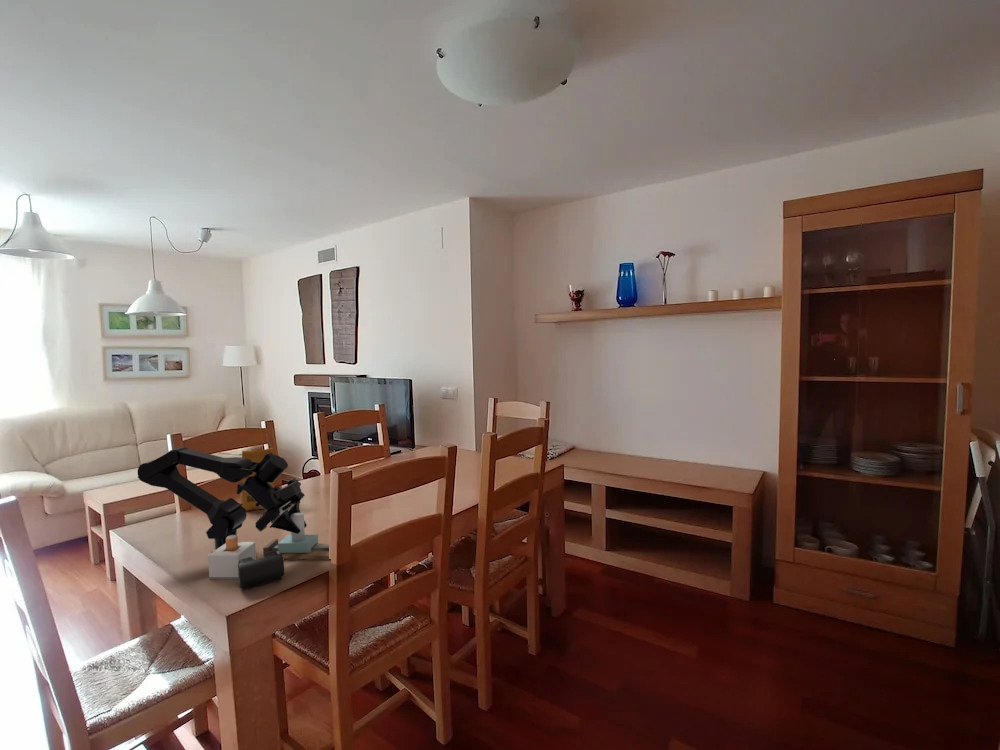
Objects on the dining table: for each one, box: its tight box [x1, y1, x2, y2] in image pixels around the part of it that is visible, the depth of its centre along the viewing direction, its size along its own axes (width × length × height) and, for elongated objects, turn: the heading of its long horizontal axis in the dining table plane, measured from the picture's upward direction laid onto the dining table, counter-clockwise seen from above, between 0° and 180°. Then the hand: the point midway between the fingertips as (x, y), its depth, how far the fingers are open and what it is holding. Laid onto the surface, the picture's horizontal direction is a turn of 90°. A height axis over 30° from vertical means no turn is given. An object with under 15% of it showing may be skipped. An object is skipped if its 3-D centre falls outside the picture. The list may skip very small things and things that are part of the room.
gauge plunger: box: [226, 534, 239, 551], centre depth 124 cm, size 3×3×4 cm
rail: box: [262, 538, 330, 561], centre depth 135 cm, size 21×8×3 cm, turn 88°
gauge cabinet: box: [207, 541, 257, 581], centre depth 124 cm, size 8×8×6 cm
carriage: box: [278, 512, 319, 553], centre depth 135 cm, size 9×6×10 cm, turn 88°
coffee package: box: [239, 447, 275, 512], centre depth 175 cm, size 10×12×22 cm
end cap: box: [238, 551, 285, 591], centre depth 118 cm, size 10×7×7 cm
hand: (302, 529), depth 135 cm, fingers closed on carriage, 4 cm apart
